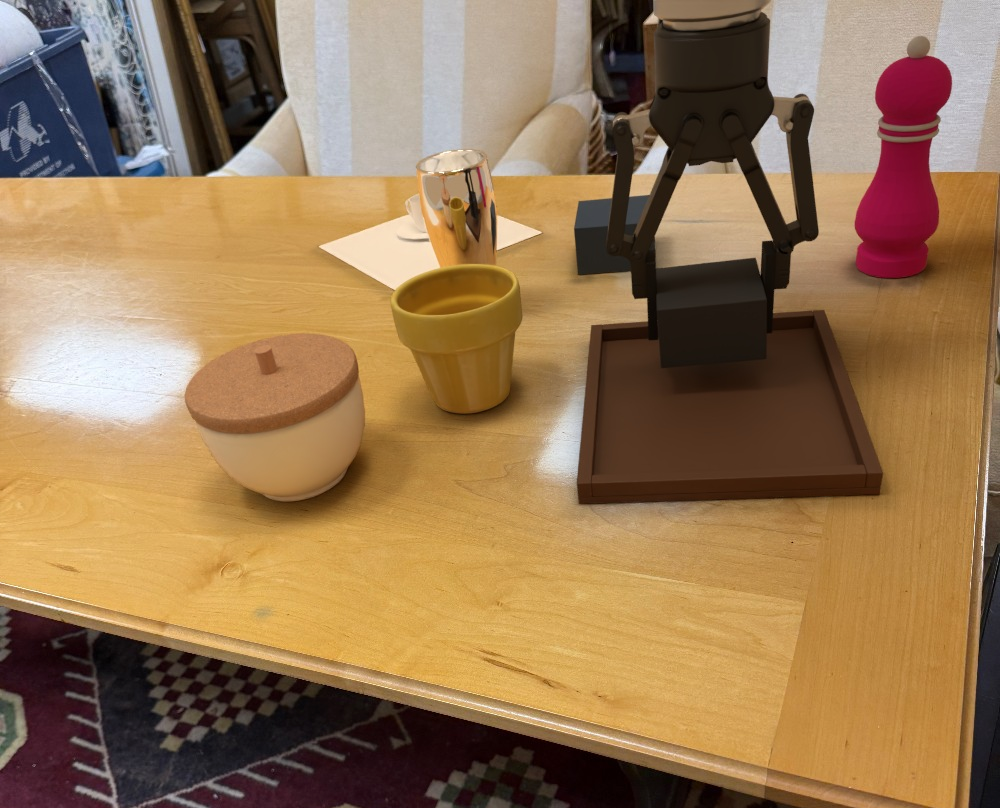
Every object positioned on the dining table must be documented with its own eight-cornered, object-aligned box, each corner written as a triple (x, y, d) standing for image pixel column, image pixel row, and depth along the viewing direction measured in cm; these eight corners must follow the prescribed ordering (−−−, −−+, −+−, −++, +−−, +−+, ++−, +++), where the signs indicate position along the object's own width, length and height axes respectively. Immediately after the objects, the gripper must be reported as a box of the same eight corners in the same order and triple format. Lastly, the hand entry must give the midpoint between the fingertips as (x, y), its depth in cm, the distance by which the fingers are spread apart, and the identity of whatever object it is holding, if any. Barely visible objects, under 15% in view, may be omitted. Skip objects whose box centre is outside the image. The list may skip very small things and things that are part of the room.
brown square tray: (822, 328, 79) (824, 309, 78) (880, 494, 60) (883, 472, 59) (592, 342, 83) (591, 324, 82) (578, 504, 64) (576, 483, 63)
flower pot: (461, 355, 84) (443, 254, 78) (555, 377, 78) (543, 270, 73) (388, 410, 78) (362, 305, 72) (484, 438, 72) (465, 326, 66)
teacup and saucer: (476, 228, 110) (471, 195, 107) (420, 249, 107) (413, 215, 104) (439, 213, 116) (433, 181, 113) (385, 232, 113) (378, 200, 110)
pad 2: (756, 314, 76) (755, 257, 73) (766, 359, 70) (766, 299, 67) (659, 323, 78) (655, 268, 75) (660, 368, 71) (656, 310, 68)
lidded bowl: (238, 545, 65) (186, 415, 59) (211, 462, 75) (164, 341, 68) (402, 487, 68) (371, 357, 62) (356, 414, 78) (325, 294, 71)
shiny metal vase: (431, 310, 93) (403, 161, 84) (494, 291, 94) (472, 143, 86) (456, 335, 87) (428, 179, 79) (521, 314, 89) (501, 159, 80)
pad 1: (654, 239, 100) (653, 194, 97) (655, 269, 93) (653, 221, 91) (582, 245, 101) (578, 200, 98) (577, 275, 95) (573, 228, 92)
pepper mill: (836, 272, 87) (857, 45, 75) (870, 245, 91) (896, 25, 79) (911, 286, 83) (946, 48, 71) (944, 257, 87) (982, 26, 75)
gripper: (548, 47, 59) (576, 358, 72) (892, 7, 55) (853, 343, 69) (557, 24, 65) (581, 316, 78) (867, -13, 61) (836, 300, 74)
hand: (708, 328), depth 73 cm, fingers closed on pad 2, 8 cm apart
